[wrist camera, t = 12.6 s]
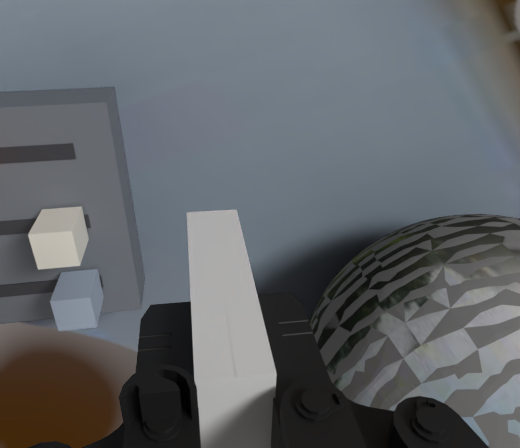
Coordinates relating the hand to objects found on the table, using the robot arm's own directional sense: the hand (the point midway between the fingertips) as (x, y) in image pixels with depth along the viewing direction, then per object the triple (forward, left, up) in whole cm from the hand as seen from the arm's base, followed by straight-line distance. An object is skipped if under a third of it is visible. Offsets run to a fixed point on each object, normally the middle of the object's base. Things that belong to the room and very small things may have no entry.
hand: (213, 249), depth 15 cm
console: (+10, -14, -28) cm, 33 cm away
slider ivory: (+10, -11, -22) cm, 27 cm away
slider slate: (+16, -11, -22) cm, 30 cm away
